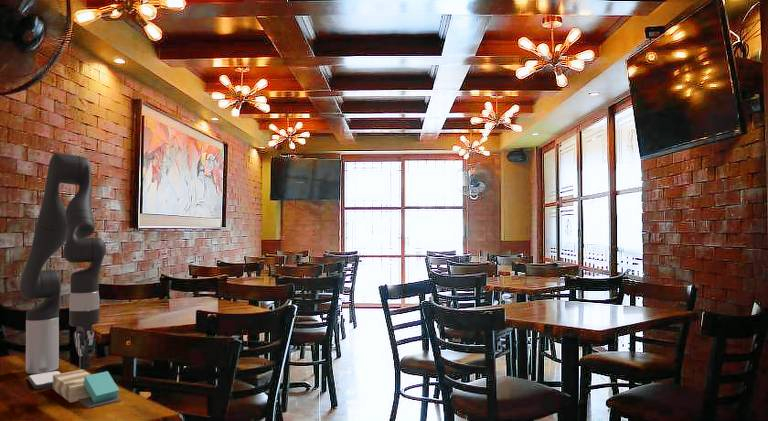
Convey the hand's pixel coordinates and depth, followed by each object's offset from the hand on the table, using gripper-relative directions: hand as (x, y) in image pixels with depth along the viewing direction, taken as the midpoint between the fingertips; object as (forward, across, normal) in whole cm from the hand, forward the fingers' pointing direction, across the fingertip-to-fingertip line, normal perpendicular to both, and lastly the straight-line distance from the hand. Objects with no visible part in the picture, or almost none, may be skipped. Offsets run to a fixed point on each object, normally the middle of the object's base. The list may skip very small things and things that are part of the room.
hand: (84, 368), depth 151 cm
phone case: (+8, -23, -4) cm, 25 cm away
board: (+7, -4, -1) cm, 8 cm away
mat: (+7, +10, +1) cm, 12 cm away
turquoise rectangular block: (+5, +8, +2) cm, 10 cm away
